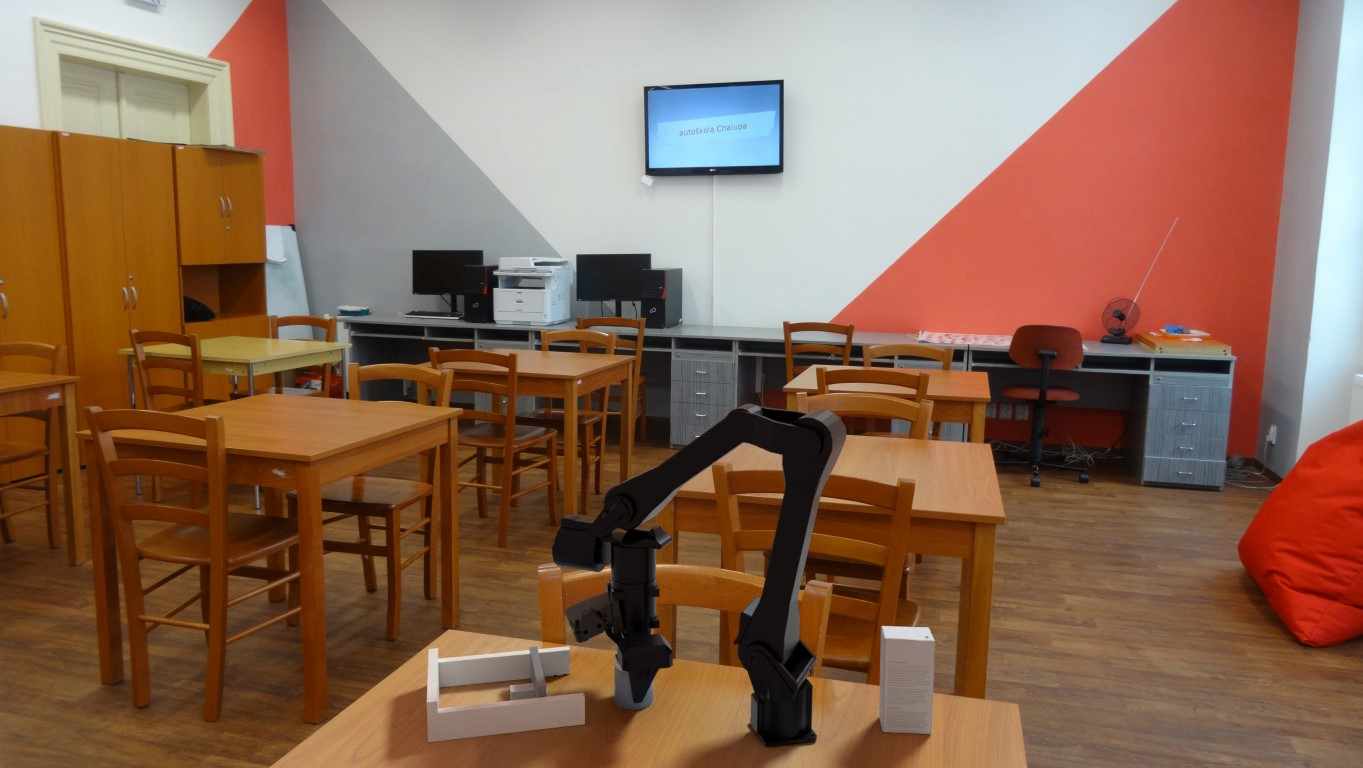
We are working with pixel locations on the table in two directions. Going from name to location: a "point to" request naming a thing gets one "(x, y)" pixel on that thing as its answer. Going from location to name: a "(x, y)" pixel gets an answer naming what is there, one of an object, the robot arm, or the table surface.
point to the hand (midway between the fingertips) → (633, 692)
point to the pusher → (537, 680)
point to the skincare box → (906, 679)
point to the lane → (498, 714)
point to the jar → (627, 690)
